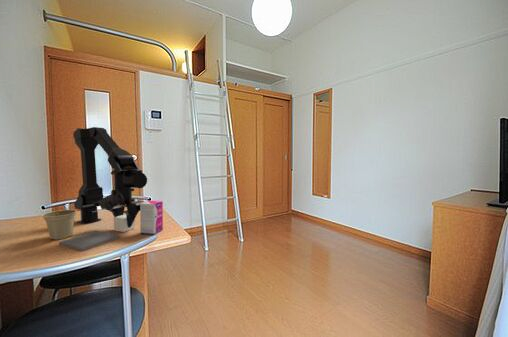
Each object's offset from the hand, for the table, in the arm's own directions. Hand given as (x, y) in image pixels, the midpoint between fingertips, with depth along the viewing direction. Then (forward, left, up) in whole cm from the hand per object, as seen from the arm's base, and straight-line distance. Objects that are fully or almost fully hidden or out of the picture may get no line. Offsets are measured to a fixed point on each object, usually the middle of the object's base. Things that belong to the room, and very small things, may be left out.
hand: (124, 226), depth 91 cm
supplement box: (+12, +2, -2) cm, 12 cm away
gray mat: (0, -13, -1) cm, 13 cm away
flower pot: (-14, -14, -2) cm, 20 cm away
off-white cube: (0, 0, -1) cm, 1 cm away
